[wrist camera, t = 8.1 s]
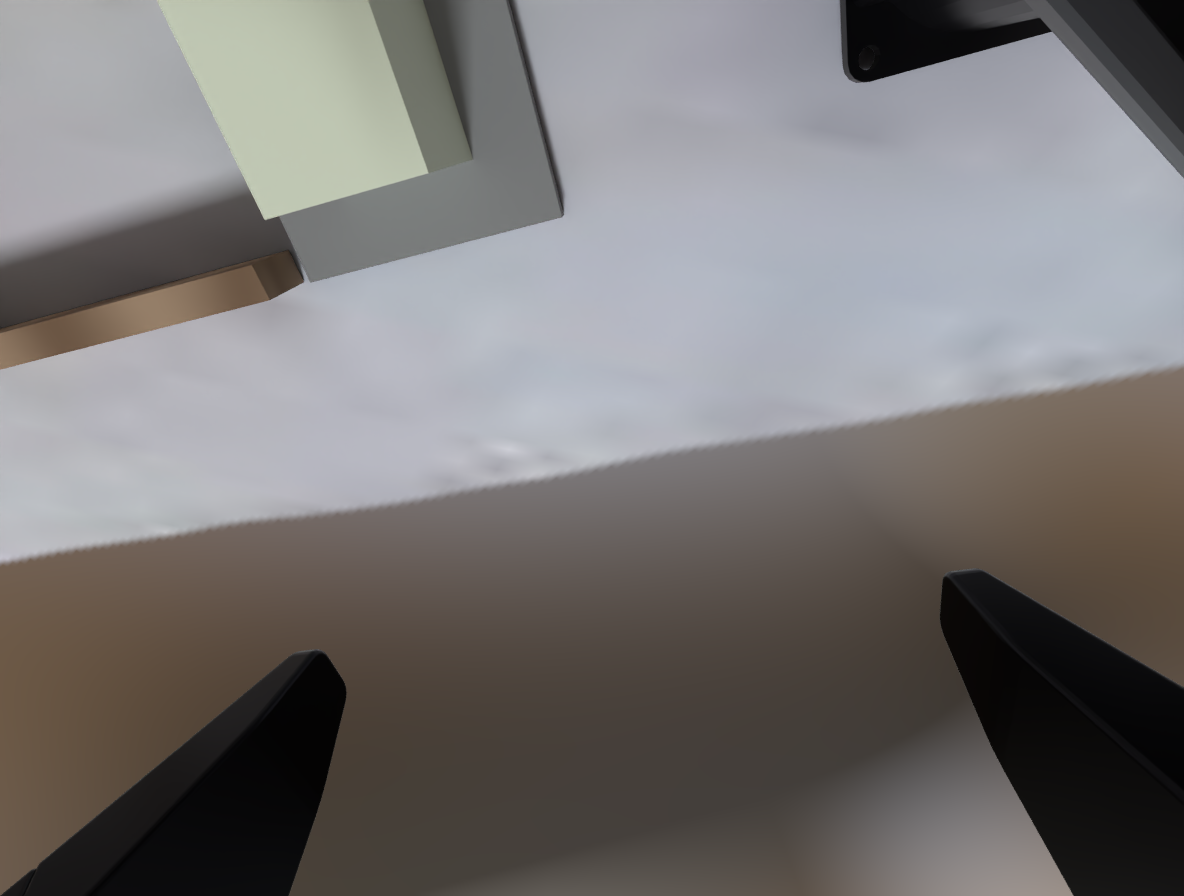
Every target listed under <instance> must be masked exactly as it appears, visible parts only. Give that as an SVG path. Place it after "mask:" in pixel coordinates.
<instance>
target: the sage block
mask: <svg viewBox="0 0 1184 896" xmlns="http://www.w3.org/2000/svg"><path fill="white" fill-rule="evenodd" d="M157 2H158V4H159V6H160V8H161V10H162V12H163V14H164V16H165V18H166V20H167V22H168V24H169V26H170V28H171V30H172V32H173V34H174V36H175V38H176V40H177V42H178V45H179V47H180V49H181V51H182V53H183V55H184V57H185V59H186V61H187V63H188V65H189V67H190V69H191V71H192V73H193V75H194V77H195V79H196V81H197V83H198V85H199V87H200V89H201V91H202V93H203V95H204V98H205V100H206V102H207V104H208V106H209V108H210V110H211V112H212V114H213V116H214V118H215V120H216V122H217V124H218V126H219V128H220V130H221V132H222V134H223V136H224V138H225V140H226V142H227V144H228V146H229V148H230V150H231V153H232V155H233V157H234V159H235V161H236V163H237V165H238V167H239V169H240V171H241V173H242V175H243V177H244V179H245V181H246V183H247V185H248V187H249V189H250V191H251V193H252V195H253V197H254V199H255V201H256V203H257V206H258V208H259V210H260V212H261V214H262V216H263V218H264V220H267V219H270V218H274V217H277V216H281V215H284V214H288V213H291V212H295V211H298V210H302V209H305V208H309V207H312V206H316V205H319V204H323V203H326V202H330V201H333V200H337V199H340V198H344V197H347V196H351V195H354V194H358V193H361V192H365V191H368V190H372V189H375V188H379V187H382V186H386V185H389V184H393V183H396V182H400V181H403V180H407V179H410V178H414V177H417V176H421V175H424V174H428V173H431V172H434V171H437V170H441V169H444V168H447V167H450V166H453V165H457V164H460V163H463V162H466V161H470V160H473V158H472V155H471V151H470V148H469V145H468V142H467V139H466V135H465V132H464V129H463V126H462V123H461V120H460V116H459V113H458V110H457V107H456V104H455V100H454V97H453V94H452V91H451V88H450V85H449V81H448V78H447V75H446V72H445V69H444V65H443V62H442V59H441V56H440V53H439V50H438V46H437V43H436V40H435V37H434V34H433V30H432V27H431V24H430V21H429V18H428V15H427V11H426V8H425V5H424V2H423V0H157Z"/></svg>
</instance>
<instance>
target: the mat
mask: <svg viewBox="0 0 1184 896" xmlns="http://www.w3.org/2000/svg"><path fill="white" fill-rule="evenodd" d="M423 2H424V5H425V8H426V11H427V15H428V18H429V21H430V24H431V27H432V30H433V34H434V37H435V40H436V43H437V46H438V50H439V53H440V56H441V59H442V62H443V65H444V69H445V72H446V75H447V78H448V81H449V85H450V88H451V91H452V94H453V97H454V100H455V104H456V107H457V110H458V113H459V116H460V120H461V123H462V126H463V129H464V132H465V135H466V139H467V142H468V145H469V148H470V151H471V155H472V158H473V160H470V161H466V162H463V163H460V164H457V165H453V166H450V167H447V168H444V169H441V170H437V171H434V172H431V173H428V174H424V175H421V176H417V177H414V178H410V179H407V180H403V181H400V182H396V183H393V184H389V185H386V186H382V187H379V188H375V189H372V190H368V191H365V192H361V193H358V194H354V195H351V196H347V197H344V198H340V199H337V200H333V201H330V202H326V203H323V204H319V205H316V206H312V207H309V208H305V209H302V210H298V211H295V212H291V213H288V214H284V215H281V216H279V218H280V220H281V222H282V224H283V226H284V228H285V230H286V232H287V234H288V237H289V239H290V241H291V243H292V245H293V247H294V249H295V251H296V253H297V255H298V257H299V260H300V262H301V264H302V266H303V268H304V270H305V272H306V274H307V276H308V278H309V281H310V283H311V282H314V281H318V280H322V279H326V278H330V277H334V276H338V275H341V274H345V273H349V272H353V271H357V270H361V269H364V268H368V267H372V266H376V265H380V264H384V263H388V262H391V261H395V260H399V259H403V258H407V257H411V256H414V255H418V254H422V253H426V252H430V251H434V250H438V249H441V248H445V247H449V246H453V245H457V244H461V243H464V242H468V241H472V240H476V239H480V238H484V237H488V236H491V235H495V234H499V233H503V232H507V231H511V230H514V229H518V228H522V227H526V226H530V225H534V224H538V223H541V222H545V221H549V220H553V219H557V218H561V217H562V216H563V215H564V213H563V209H562V205H561V202H560V198H559V194H558V190H557V186H556V182H555V178H554V174H553V170H552V167H551V163H550V159H549V155H548V151H547V147H546V143H545V139H544V135H543V131H542V128H541V124H540V120H539V116H538V112H537V108H536V104H535V100H534V96H533V92H532V89H531V85H530V81H529V77H528V73H527V69H526V65H525V61H524V57H523V54H522V50H521V46H520V42H519V38H518V34H517V30H516V26H515V22H514V18H513V15H512V11H511V7H510V3H509V0H423Z"/></svg>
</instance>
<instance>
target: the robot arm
mask: <svg viewBox="0 0 1184 896" xmlns="http://www.w3.org/2000/svg"><path fill="white" fill-rule="evenodd" d="M840 5H841V32H842V59H843V69H844V73H845V75H846V76H847V77H848V79H849V80H851V81H853V82H856V83H860V82H870V81H874V80H877V79H881V78H885V77H888V76H892V75H896V74H899V73H903V72H906V71H910V70H914V69H917V68H921V67H925V66H928V65H932V64H936V63H939V62H943V61H946V60H950V59H954V58H957V57H961V56H965V55H968V54H972V53H975V52H979V51H983V50H986V49H990V48H994V47H997V46H1001V45H1004V44H1008V43H1012V42H1015V41H1019V40H1023V39H1026V38H1030V37H1034V36H1037V35H1041V34H1044V33H1048V32H1053V33H1054V34H1055V35H1056V36H1057V37H1058V38H1059V40H1060V41H1061V42H1062V43H1063V44H1064V45H1065V46H1066V47H1067V48H1068V50H1069V51H1070V52H1071V53H1072V54H1073V55H1074V56H1075V57H1076V59H1077V60H1078V61H1079V62H1080V63H1081V64H1082V65H1083V66H1084V67H1085V69H1086V70H1087V71H1088V72H1089V73H1090V74H1091V75H1092V76H1093V78H1094V79H1095V80H1096V81H1097V82H1098V83H1099V84H1100V85H1101V86H1102V88H1103V89H1104V90H1105V91H1106V92H1107V93H1108V94H1109V95H1110V96H1111V98H1112V99H1113V100H1114V101H1115V102H1116V103H1117V104H1118V105H1119V107H1120V108H1121V109H1122V110H1123V111H1124V112H1125V113H1126V114H1127V115H1128V117H1129V118H1130V119H1131V120H1132V121H1133V122H1134V123H1135V124H1136V126H1137V127H1138V128H1139V129H1140V130H1141V131H1142V132H1143V133H1144V134H1145V136H1146V137H1147V138H1148V139H1149V140H1150V141H1151V142H1152V143H1153V144H1154V146H1155V147H1156V148H1157V149H1158V150H1159V151H1160V152H1161V153H1162V155H1163V156H1164V157H1165V158H1166V159H1167V160H1168V161H1169V162H1170V163H1171V165H1172V166H1173V167H1174V168H1175V169H1176V170H1177V171H1178V172H1179V174H1180V175H1181V176H1182V177H1183V178H1184V0H840ZM866 47H870V48H871V49H872V50H873V52H874V55H875V57H874V62H873V64H872V65H871V67H870V68H869V69H867V70H863V69H862V68H860V66H859V63H858V59H859V54H860V53H861V52H862V50H863V49H864V48H866ZM940 624H941V629H942V632H943V635H944V637H945V640H946V642H947V645H948V647H949V649H950V652H951V654H952V656H953V659H954V661H955V663H956V666H957V668H958V670H959V673H960V675H961V677H962V680H963V682H964V684H965V687H966V689H967V692H968V694H969V696H970V699H971V701H972V703H973V706H974V708H975V710H976V712H977V715H978V717H979V720H980V722H981V724H982V727H983V729H984V731H985V734H986V736H987V738H988V740H989V742H990V745H991V747H992V749H993V751H994V752H995V755H996V757H997V759H998V760H999V762H1000V764H1001V766H1002V768H1003V770H1004V772H1005V773H1006V775H1007V777H1008V779H1009V781H1010V782H1011V784H1012V786H1013V788H1014V790H1015V791H1016V793H1017V795H1018V797H1019V799H1020V800H1021V802H1022V804H1023V806H1024V808H1025V809H1026V811H1027V813H1028V815H1029V816H1030V818H1031V820H1032V822H1033V824H1034V826H1035V827H1036V829H1037V831H1038V833H1039V834H1040V836H1041V838H1042V840H1043V841H1044V843H1045V845H1046V847H1047V849H1048V850H1049V852H1050V854H1051V856H1052V858H1053V860H1054V861H1055V863H1056V865H1057V867H1058V869H1059V870H1060V872H1061V874H1062V876H1063V878H1064V879H1065V881H1066V883H1067V885H1068V887H1069V888H1070V890H1071V892H1072V894H1073V895H1074V896H1184V687H1182V686H1181V685H1179V684H1177V683H1176V682H1174V681H1172V680H1170V679H1169V678H1167V677H1165V676H1163V675H1162V674H1160V673H1158V672H1157V671H1155V670H1153V669H1152V668H1150V667H1148V666H1146V665H1145V664H1143V663H1141V662H1140V661H1138V660H1136V659H1135V658H1133V657H1131V656H1129V655H1128V654H1126V653H1124V652H1123V651H1121V650H1119V649H1117V648H1116V647H1114V646H1112V645H1111V644H1109V643H1107V642H1105V641H1104V640H1102V639H1100V638H1098V637H1096V636H1095V635H1093V634H1092V633H1090V632H1088V631H1087V630H1085V629H1083V628H1082V627H1080V626H1078V625H1076V624H1074V623H1073V622H1071V621H1070V620H1068V619H1066V618H1064V617H1063V616H1061V615H1059V614H1058V613H1056V612H1054V611H1052V610H1051V609H1049V608H1047V607H1046V606H1044V605H1042V604H1040V603H1039V602H1037V601H1035V600H1034V599H1032V598H1030V597H1029V596H1027V595H1025V594H1023V593H1022V592H1020V591H1018V590H1017V589H1015V588H1013V587H1012V586H1010V585H1008V584H1006V583H1005V582H1003V581H1001V580H999V579H998V578H996V577H994V576H993V575H991V574H989V573H988V572H986V571H984V570H980V569H966V570H958V571H950V572H948V573H946V574H945V575H944V577H943V581H942V593H941V605H940ZM345 701H346V686H345V683H344V681H343V679H342V678H341V676H340V674H339V673H338V671H337V670H336V668H335V667H334V665H333V663H332V662H331V660H330V659H329V657H328V656H327V654H326V653H325V652H323V651H321V650H318V649H315V650H307V651H299V652H296V653H294V654H292V655H291V656H289V657H288V658H287V659H286V660H284V661H283V662H282V663H281V664H279V665H278V666H277V667H276V668H275V669H274V670H272V671H271V672H270V673H269V674H267V675H266V676H265V677H264V678H263V679H262V680H260V681H259V682H258V683H257V684H255V685H254V686H253V687H252V688H251V689H249V690H248V691H247V692H246V693H245V694H243V695H242V696H241V697H240V698H238V699H237V700H236V701H235V702H234V703H232V704H231V705H230V706H229V707H228V708H226V709H225V710H224V711H223V712H222V713H220V714H219V715H218V716H217V717H216V718H214V719H213V720H212V721H211V722H210V723H208V724H207V725H206V726H205V727H203V728H202V729H201V730H200V731H199V732H197V733H196V734H195V735H194V736H193V737H192V738H190V739H189V740H188V741H187V742H185V743H184V744H183V745H182V746H181V747H179V748H178V749H177V750H176V751H174V752H173V753H172V754H171V755H170V756H168V757H167V758H166V759H165V760H164V761H162V762H161V763H160V764H159V765H158V766H156V767H155V768H154V769H153V770H152V771H150V772H149V773H148V774H147V775H145V776H144V777H143V778H142V779H141V780H139V781H138V782H137V783H136V784H135V785H133V786H132V787H131V788H130V789H129V790H127V791H126V792H125V793H124V794H123V795H121V796H120V797H119V798H118V799H117V800H115V801H114V802H113V803H112V804H111V805H110V806H108V807H107V808H106V809H104V810H103V811H102V812H101V813H100V814H98V815H97V816H96V817H95V818H94V819H93V820H91V821H90V822H89V823H88V824H86V825H85V826H84V827H83V828H82V829H80V830H79V831H78V832H77V833H75V834H74V835H73V836H72V837H71V838H69V839H68V840H67V841H66V842H65V843H63V844H62V845H61V846H60V847H59V848H58V849H56V850H55V851H54V852H53V853H51V854H50V855H49V856H48V857H46V858H45V859H44V860H43V861H42V862H41V863H40V864H39V865H38V867H37V869H33V870H31V871H29V872H28V873H27V874H26V875H25V876H23V877H22V878H21V879H20V880H19V881H17V882H16V883H15V884H14V885H13V886H11V887H10V888H9V889H8V890H7V891H5V892H4V893H3V894H2V895H1V896H289V893H290V891H291V887H292V885H293V881H294V879H295V876H296V873H297V870H298V867H299V864H300V861H301V858H302V855H303V853H304V849H305V847H306V844H307V841H308V838H309V835H310V832H311V829H312V826H313V823H314V820H315V817H316V814H317V811H318V808H319V805H320V802H321V798H322V795H323V791H324V787H325V784H326V780H327V775H328V771H329V767H330V763H331V759H332V755H333V751H334V747H335V743H336V738H337V734H338V730H339V726H340V722H341V718H342V714H343V710H344V706H345Z"/></svg>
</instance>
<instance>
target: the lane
mask: <svg viewBox="0 0 1184 896" xmlns="http://www.w3.org/2000/svg"><path fill="white" fill-rule="evenodd" d="M303 282H304V281H303V279H302V277H301V275H300V273H299V271H298V269H297V267H296V265H295V263H294V261H293V258H292V256H291V254H290V252H289V250H287V251H283V252H280V253H276V254H272V255H269V256H265V257H261V258H258V259H254V260H250V261H247V262H243V263H239V264H236V265H232V266H228V267H225V268H221V269H217V270H214V271H210V272H206V273H203V274H199V275H195V276H192V277H188V278H184V279H181V280H177V281H173V282H170V283H166V284H162V285H159V286H155V287H151V288H148V289H144V290H140V291H137V292H133V293H129V294H126V295H122V296H118V297H115V298H111V299H107V300H104V301H100V302H96V303H93V304H89V305H85V306H82V307H78V308H74V309H71V310H67V311H63V312H60V313H56V314H52V315H49V316H45V317H41V318H38V319H34V320H30V321H27V322H23V323H19V324H16V325H12V326H8V327H5V328H1V329H0V369H4V368H8V367H12V366H16V365H20V364H23V363H27V362H31V361H35V360H39V359H43V358H47V357H51V356H55V355H58V354H62V353H66V352H70V351H74V350H78V349H82V348H86V347H89V346H93V345H97V344H101V343H105V342H109V341H113V340H117V339H120V338H124V337H128V336H132V335H136V334H140V333H144V332H148V331H152V330H155V329H159V328H163V327H167V326H171V325H175V324H179V323H183V322H186V321H190V320H194V319H198V318H202V317H206V316H210V315H214V314H218V313H221V312H225V311H229V310H233V309H237V308H241V307H245V306H249V305H252V304H256V303H260V302H264V301H268V300H271V299H273V298H275V297H277V296H278V295H280V294H282V293H284V292H286V291H288V290H290V289H292V288H294V287H296V286H298V285H299V284H301V283H303Z"/></svg>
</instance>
